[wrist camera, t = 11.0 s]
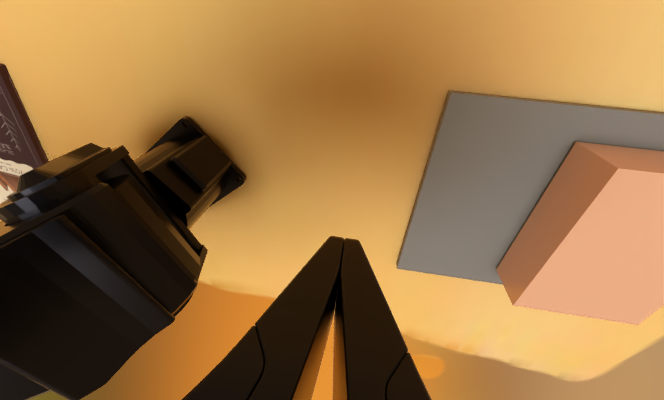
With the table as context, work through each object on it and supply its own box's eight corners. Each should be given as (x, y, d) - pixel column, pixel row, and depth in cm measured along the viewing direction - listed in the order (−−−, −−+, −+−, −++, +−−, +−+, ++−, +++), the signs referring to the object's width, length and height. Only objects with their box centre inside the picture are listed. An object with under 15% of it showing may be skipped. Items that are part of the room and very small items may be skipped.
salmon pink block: (513, 305, 21) (637, 325, 20) (618, 168, 14) (813, 191, 13) (495, 267, 24) (602, 283, 23) (574, 140, 17) (730, 157, 16)
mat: (396, 263, 26) (396, 268, 26) (448, 90, 17) (451, 92, 16) (604, 294, 25) (609, 300, 24) (784, 124, 16) (797, 128, 15)
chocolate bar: (-4, 65, 20) (78, 239, 30) (11, 64, 20) (85, 233, 31) (-127, 33, 19) (-2, 219, 30) (-108, 32, 20) (8, 213, 31)
